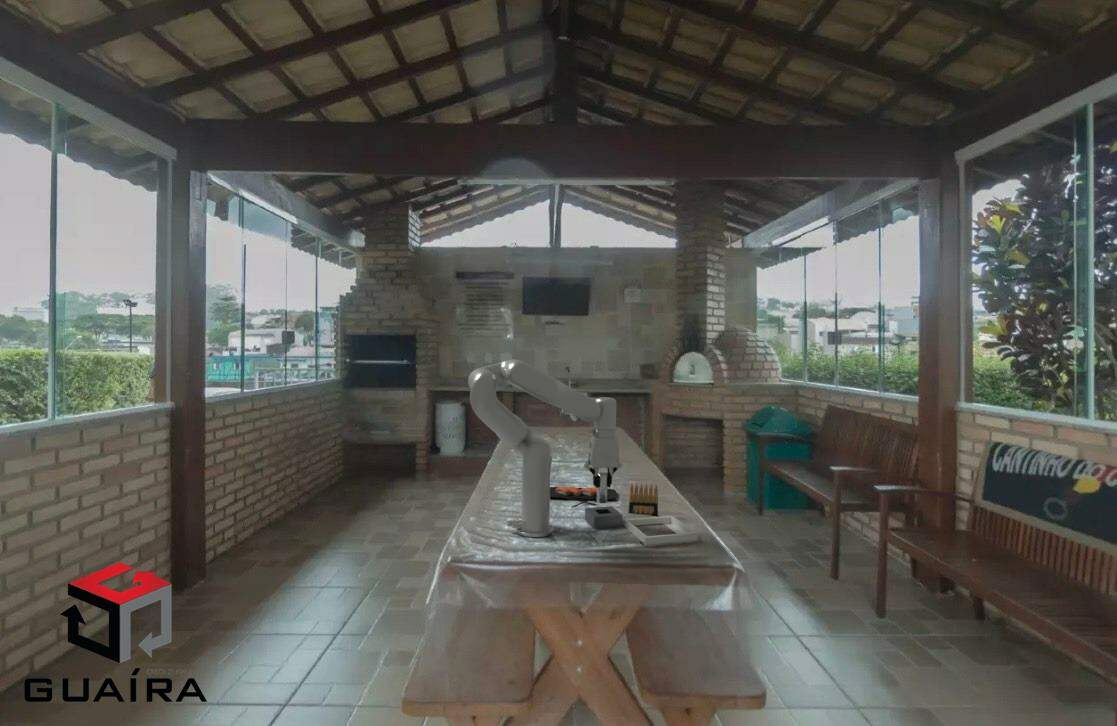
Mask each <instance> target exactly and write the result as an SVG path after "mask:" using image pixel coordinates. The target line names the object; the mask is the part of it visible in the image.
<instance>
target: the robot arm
mask: <svg viewBox="0 0 1117 726" xmlns="http://www.w3.org/2000/svg"><path fill="white" fill-rule="evenodd" d="M467 383H468V386H469V388H470V392H469V401H470V405H471V406H470V407H471V409H472V411H473V412H474V414H475V415H476V417H478V419H480V421H481V422H483V423H484V425H486V426H487V427H488V428H489V429H490V430H491V431H493V432H494V433H495V435H496V436H497V437H498V438H499V439H500V441H501V442H503V443H505V444H506V445H507V446H508V447H509V448H510V449H512V450H513V451H514V452H515V453H516V454H517V455H518V456H519V457H521V459H522V469H521V504H520V505H521V509H520V510H521V513H520V514H521V515H520V516H519V517H518V518H516V520H513V519H512V520H507V521H506V527H507V528H508V527H512V528H511V529H516V533H517V534H519V535H520V536H523V537H527V538H543V537H544V538H545V537H547V536H551V535H552V533H553V532H554V531H555V526H554V525H553V524H551V523H550V521H551V497H550V487H551V470H552V469H551V468H552V464H553V463H552V461H553V451H552V448H551V445H550V444H549V442H548V441H547V440H546V439H545V438H543V437H542V436H540V435H539V434H538V433H536V432H535V431H534V430H533V429H532V428H531V427H529V426H528V424H526V423H525V422H524V421H523V419H522V418H520V417H519V416H518V415H516V414H514V413H513V412H512V411H510V410H509V409H508V408H507V407H506V406H505V405H504V404H503V403H502V402H501V401H500V400H499V399H498V396H497V390H498V389H501V388H505V387H508V386H510V385H511V386H513V387H515V388H517V389H519V390H521V391H523V392H525V393H527V394H529V395H530V396H533V397H534V398H537V399H539V400H540V401H542V402H544V403H547V404H548V405H550V406H554V407H556V408H558V409H561V410H563V411H565V412H568V413H569V414H571V415H573V416H575V417H576V418H578V419H580V420H582V421H584V422H589V423H591V422H593V427H592V429H591V430H589V435H591V437H590V440H589V441H590V442H589V446H588V447H589V448H588V454H587V455H588V457H587V460H586V462H585V463H584V465H583V467H584V469H586V470H588V471H589V472H590V473H591V474H592V475H593V477H592V478H593V479H592V484H593V486H594V488H595V487H596V488H598V487H599V476H598V472H600V469H604V468H606V472H607V473H608V486H607V488H611V485H612V484H613V476H614V474H615V473H616V472H617V471H618V470H619V469H621V468H622V467H623V465H622V463H621V461H620V447H619V446H620V445H619V439H618V437H616V431H617V430H616V425H617V400H616V399H615V398H613V397H605V396H602V397H601V396H599V397H590V396H588V395H585V394H584V393H582V392H580V391H579V390H576V389H574V388H572V387H571V386H569V385H567V384H565V383H564V382H562V381H560V380H559V379H557V378H555V377H553V376H552V375H549V374H547V373H546V372H544V371H542V370H540V369H538V368H536V367H534V366H533V365H531V364H528V363H527V362H524V361H523V360H520V359H515V358H514V359H508V360H504V361H500V362H498V363H497V362H496V363H494V364H489V365H486V366H483V367H478V368H476V369H474V370H473V371H472V372H471V373H470V374H469V376H468V381H467Z"/></svg>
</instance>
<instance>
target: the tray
mask: <svg viewBox="0 0 1117 726" xmlns="http://www.w3.org/2000/svg"><path fill="white" fill-rule="evenodd" d="M657 524H658V525H660V524H663V525H664V526H666V527H667V528H668V529H670V530H671V531H673V533H672V534H671V533H670V534H659V535H650V536H648V535H646V534H645V533H644V532H642V531H641V530H640V529H639V528H638V527H637V526H645V525H646V526H647V525H657ZM623 527H625V528H626V529H627V530H628V531H629V532H631V533H632V534H633V536H635V537H636V538H638V540H640V541H641V542H640V541H639V543H640V544H641V546H643V547H645V548H650V547H661V546H673V545H682V544H683V543H685V544H693V543H698V532H697V531H695V530H693V529H692V528H691V527H689V526H688V525H686V524H685V523H684V522H682V521H680V520H679V519H678V518H676V517H674V516H673V515H666V516H663V515H662V516H658V517H653V516H652V517H651V516H650V517H639V518H625V519H623ZM683 545H684V544H683Z"/></svg>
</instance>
